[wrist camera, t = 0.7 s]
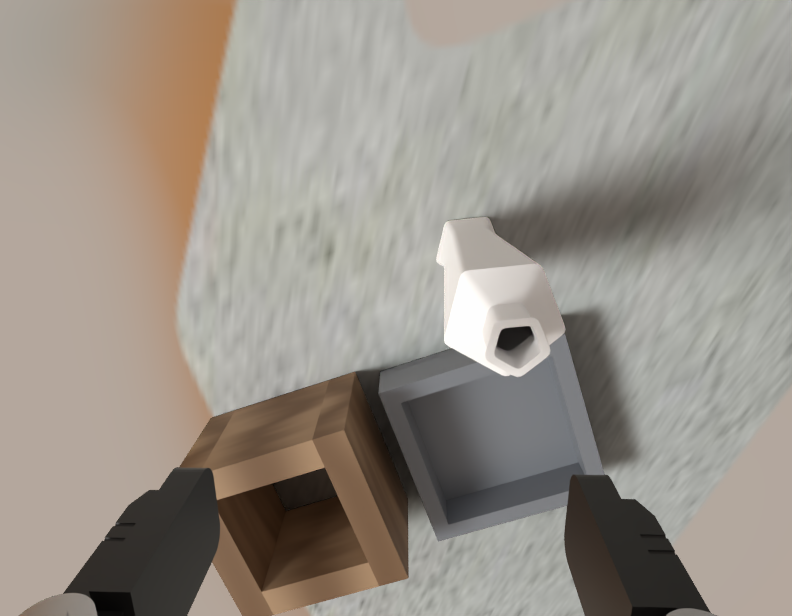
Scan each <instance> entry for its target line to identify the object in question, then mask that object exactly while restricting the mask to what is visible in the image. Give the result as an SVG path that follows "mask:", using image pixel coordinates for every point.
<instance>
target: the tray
mask: <svg viewBox="0 0 792 616" xmlns="http://www.w3.org/2000/svg"><path fill="white" fill-rule="evenodd" d="M549 346H550V354H549V355H548V356H547V357H546V358H545V359H544V360H543V361H541V362H540V363H539V364H537V365H536V366H535V367H534V368H532V369H531V370H530V371H528V372H527V373H526V374H524V375H523V376H521V377H516V376H513V375H509V376H503V375H500V374H499V373H497V372H495V371H493V370H491V369H489V368H488V367H486V366H484V365H482V364H480V363H478V362H477V361H475V360H473V359H471V358H469V357H467V356H466V355H464V354H462V353H460V352H458V351H456V350H455V349H453V348H452V349H449V350H446V351H443V352H440V353H436V354H433V355H430V356H427V357H424V358H421V359H418V360H415V361H411V362H408V363H405V364H402V365H399V366H396V367H393V368H390V369H386V370H383V371H380V382H379V392H378V394H379V396H380V399H381V401H382V404H383V406H384V409H385V411H386V414H387V416H388V419H389V421H390V423H391V426H392V428H393V431H394V433H395V436H396V438H397V441H398V443H399V446H400V448H401V451H402V453H403V456H404V458H405V461H406V463H407V465H408V468H409V470H410V473H411V475H412V478H413V480H414V483H415V485H416V488H417V490H418V493H419V495H420V498H421V500H422V502H423V505H424V507H425V510H426V512H427V515H428V517H429V520H430V522H431V525H432V527H433V530H434V532H435V535H436V537H437V540H438V541H441V540H445V539H449V538H452V537H456V536H459V535H463V534H467V533H470V532H474V531H477V530H481V529H485V528H488V527H492V526H495V525H499V524H503V523H506V522H510V521H513V520H517V519H521V518H524V517H528V516H531V515H535V514H539V513H542V512H546V511H549V510H553V509H557V508H560V507H564V506H567V504H568V494H569V485H570V479H571V476H572V475H605V474H604V471H603V467H602V464H601V460H600V457H599V453H598V449H597V446H596V442H595V439H594V435H593V432H592V428H591V424H590V421H589V417H588V414H587V410H586V407H585V403H584V400H583V396H582V392H581V389H580V385H579V382H578V378H577V375H576V371H575V367H574V364H573V360H572V357H571V353H570V350H569V346H568V343H567V339H566V335H565V334H563V335H562V336H560V337H559V338H558V339H557V340H555V341H554V342H553V343H551V344H550V345H549Z"/></svg>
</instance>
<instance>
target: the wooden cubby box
mask: <svg viewBox="0 0 792 616" xmlns="http://www.w3.org/2000/svg"><path fill="white" fill-rule="evenodd" d="M180 467H181V468H210V469H211V470H212V472H213V476H214V483H215V490H216V498H217V505H218V512H219V520H220V538H219V544H218V548H217V551H216V554H215V556H214V558H213V561H212V563H213V564H214V566H215V568H216V570H217V571H218V573H219V575H220V577H221V578H222V580H223V582H224V584H225V586H226V587H227V589H228V591H229V593H230V594H231V596H232V598H233V600H234V602H235V603H236V605H237V607H238V609H239V610H240V612H241V614H242V616H271V615H275V614H278V613H282V612H286V611H289V610H293V609H296V608H300V607H304V606H308V605H311V604H315V603H319V602H323V601H326V600H330V599H334V598H337V597H341V596H345V595H348V594H352V593H356V592H359V591H363V590H367V589H370V588H374V587H378V586H381V585H385V584H389V583H393V582H396V581H400V580H404V579H407V578H408V498H407V496H406V493H405V491H404V488H403V486H402V484H401V481H400V479H399V476H398V474H397V471H396V469H395V467H394V464H393V462H392V459H391V457H390V455H389V452H388V450H387V447H386V445H385V442H384V440H383V438H382V435H381V433H380V430H379V428H378V426H377V423H376V421H375V418H374V416H373V413H372V411H371V409H370V406H369V404H368V401H367V399H366V397H365V394H364V392H363V389H362V387H361V384H360V382H359V380H358V377H357V375H356V372H353V373H350V374H347V375H343V376H340V377H337V378H334V379H331V380H328V381H325V382H322V383H319V384H315V385H312V386H309V387H306V388H303V389H300V390H297V391H294V392H290V393H287V394H284V395H281V396H278V397H275V398H272V399H269V400H266V401H262V402H259V403H256V404H253V405H250V406H247V407H244V408H241V409H238V410H234V411H231V412H228V413H225V414H222V415H219V416H216V417H213V418H211V419H210V420H209V422H208V423H207V425H206V427H205V428H204V430H203V431H202V433H201V434H200V436H199V438H198V439H197V441H196V442H195V444H194V445H193V447H192V448H191V450H190V451H189V453H188V454H187V456H186V458H185V459H184V461H183V462H182V464H181V465H180ZM322 468H325V469H326V471H327V473H328V476H329V478H330V480H331V482H332V484H333V486H334V489H335V491H336V493H337V495H338V496H336V497H333V498H330V499H326V500H323V501H319V502H316V503H313V504H309V505H306V506H302V507H299V508H296V509H292V510H289V511H285V509H284V507H283V505H282V503H281V501H280V499H279V497H278V495H277V493H276V491H275V489H274V487H273V485H272V483H275V482H279V481H282V480H285V479H289V478H292V477H295V476H298V475H302V474H305V473H308V472H312V471H315V470H318V469H322Z"/></svg>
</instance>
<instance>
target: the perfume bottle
mask: <svg viewBox="0 0 792 616" xmlns="http://www.w3.org/2000/svg"><path fill="white" fill-rule="evenodd" d="M436 261H437V263H438V264H439V265H441V266H443V267H444V341H445V344H446V345H448V346H449V347H451V348H453V349H455V350H456V351H458V352H460V353H462V354H464V355H466V356H467V357H469V358H471V359H473V360H475V361H477V362H478V363H480V364H482V365H484V366H486V367H488V368H489V369H491V370H493V371H495V372H497V373H499V374H500V375H503V376H509V375H513V376H516V377H521V376H523V375H524V374H526V373H527V372H528V371H530V370H531V369H532V368H534V367H535V366H536V365H537V364H539V363H540V362H541V361H543V360H544V359H545V358H546V357H547V356H548V355H549V354H550V346H549V345H550V344H551V343H553V342H554V341H555V340H557V339H558V338H559V337H560V336H562V335H563V334H564V332H565V325H564V322H563V319H562V317H561V314H560V311H559V309H558V306H557V304H556V301H555V298H554V296H553V293H552V290H551V288H550V285H549V282H548V280H547V277H546V274H545V272H544V269H543V268H542V266H541V265H539V264H538V263H537V262H535V261H534V260H532V259H531V258H529V257H528V256H526V255H525V254H524V253H522V252H521V251H519V250H518V249H516V248H515V247H514V246H512V245H511V244H509V243H508V242H506V241H505V240H503V239H502V238H501V237H499V236H498V235H496V233H495V231H494V228H493V226H492V223H491V221H490V219H489V218H488V217H478V218H469V219H459V220H450V221H447V222H446V223H445V225H444V228H443V233H442V237H441V241H440V245H439V249H438V254H437V258H436Z"/></svg>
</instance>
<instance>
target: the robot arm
mask: <svg viewBox="0 0 792 616" xmlns="http://www.w3.org/2000/svg"><path fill="white" fill-rule="evenodd" d="M219 538H220V520H219V512H218V505H217V498H216V490H215V483H214V476H213V472H212V470H211V469H210V468H181V467H177V468H175V469H173V471H172V472H171V473H170V475H169V476H168V478H167V479H166V481H165V482H164V483H163V485H162V486H161V488H160V489H159V490H149V491H148V492H146V493H145V494H143V495H142V496H141V497H139V498H138V499H136V500H135V501H134V502H132V503H131V504H130V505H129V506H128V507H127V508H126V510H125V511H124V513H123V514H122V515H121V516H120V518H119V519H118V520H117V522H116V525H115V526H113V527H112V528H111V530H110V531H109V532H108V534H107V535H106V537H105V540H104V541H102V542H101V543H100V545H99V546H98V547H97V549H96V550H95V551H94V553H93V554H92V556H91V557H90V558H89V560H88V561H87V562H86V563H85V565H84V566H83V568H82V569H81V570H80V572H79V573H78V574H77V576H76V577H75V578H74V580H73V581H72V582H71V584H70V585H69V586H68V588H67V589H66V590H65V592H64V593H63V594H60V595H56V596H52V597H50V598H47V599H44V600H42V601H40V602H38V603H36V604H34V605H33V606H31V607H30V608H28V609H27V610H25V611H24V612H23V613H22V614H20V615H19V616H187V614H188V612H189V610H190V608H191V606H192V604H193V602H194V599H195V597H196V595H197V593H198V591H199V588H200V586H201V584H202V582H203V580H204V578H205V575H206V573H207V571H208V569H209V567H210V565H211V563H212V561H213V558H214V556H215V554H216V551H217V548H218V544H219ZM564 540H565V552H566V558H567V562H568V565H569V568H570V571H571V574H572V577H573V580H574V583H575V587H576V590H577V593H578V596H579V599H580V602H581V605H582V608H583V611H584V614H585V616H717V615H714V614H712V613H711V612H710V611H709V609H708V607H707V606H706V604H705V602H704V600H703V599H702V597H701V595H700V594H699V592H698V590H697V588H696V587H695V585H694V583H693V581H692V580H691V578H690V576H689V575H688V573H687V571H686V569H685V568H684V566H683V564H682V563H681V561H680V559H679V557H678V556H677V555H675V550H674V549H673V547H672V545H671V543H670V542H669V540H668V539H666V537H665V533H664V531H663V530H662V528H661V526H660V524H659V523H658V521H657V519H656V518H655V516H654V515H653V514H652V513H651V512H649V511H648V510H647V509H646V508H645V507H643V506H642V505H641V504H640V503H639V502H638V501H636V500H635V499H621V498H620V496H619V494H618V492H617V490H616V488H615V486H614V484H613V482H612V480H611V479H610V477H609V476H608V475H572V476H571V479H570V485H569V494H568V504H567V513H566V523H565V534H564Z"/></svg>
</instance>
